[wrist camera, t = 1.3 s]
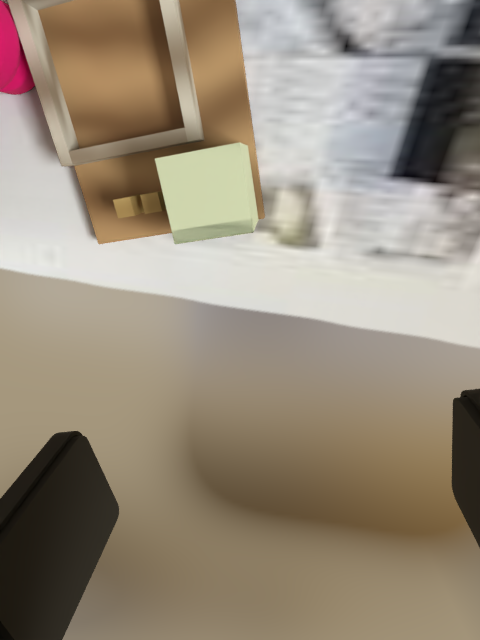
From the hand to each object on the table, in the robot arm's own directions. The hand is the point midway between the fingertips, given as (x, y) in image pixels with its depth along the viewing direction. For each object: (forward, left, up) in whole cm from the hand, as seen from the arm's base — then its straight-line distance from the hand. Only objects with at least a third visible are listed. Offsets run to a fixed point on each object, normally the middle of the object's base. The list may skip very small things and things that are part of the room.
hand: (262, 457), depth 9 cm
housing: (-5, -4, -26) cm, 27 cm away
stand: (-12, -9, -28) cm, 31 cm away
